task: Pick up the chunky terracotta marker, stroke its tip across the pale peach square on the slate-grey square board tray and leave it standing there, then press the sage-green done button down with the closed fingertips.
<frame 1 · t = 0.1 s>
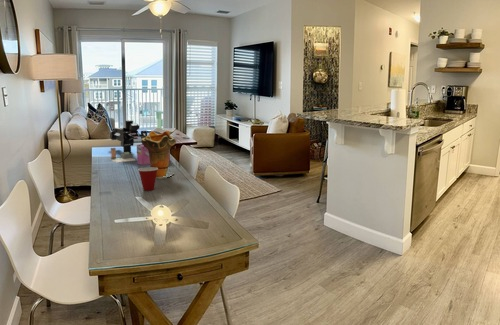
hand: (139, 136, 294), 17 cm above the table, tool horizontal, fingers open, 9 cm apart
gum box: (154, 162, 287), on the table
done button: (126, 154, 297), point 3 cm above the table, slide at 0.0 cm
plastic cup: (148, 189, 218), on the table
marker: (113, 158, 297), on the table
decorative vase: (160, 175, 249), on the table
square board tray: (123, 160, 291), on the table
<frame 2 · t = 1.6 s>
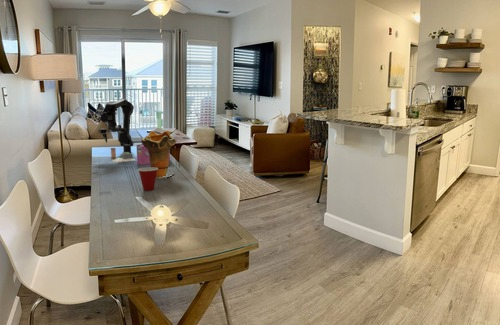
hand: (112, 142, 294), 13 cm above the table, tool pointing down, fingers open, 9 cm apart
nothing on the table moved.
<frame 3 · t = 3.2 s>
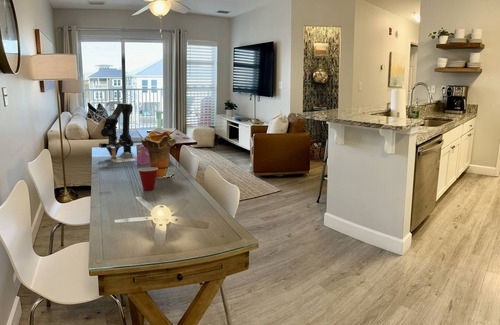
hand: (113, 155, 296), 2 cm above the table, tool pointing down, fingers closed on marker, 3 cm apart
marker: (113, 158, 297), on the table, touching gripper
everything else where it was.
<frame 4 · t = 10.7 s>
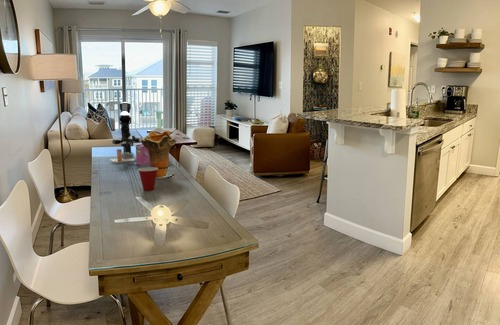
hand: (126, 152, 296), 5 cm above the table, tool pointing down, fingers closed, pressing on done button
done button: (126, 154, 297), point 3 cm above the table, slide at 0.0 cm, touching gripper
marker: (119, 160, 286), point 1 cm above the table, touching square board tray
everything else where it was.
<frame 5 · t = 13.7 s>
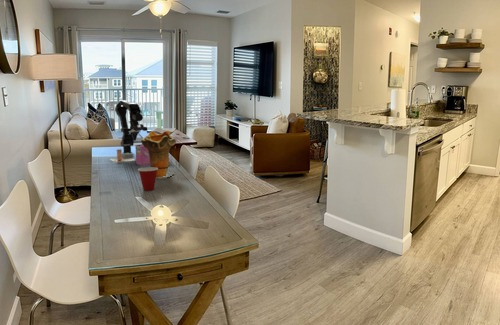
hand: (134, 140, 302), 13 cm above the table, tool pointing down, fingers closed
done button: (126, 155, 297), point 2 cm above the table, slide at -0.8 cm
at the end: marker 1.4 cm from the target spot, point 0.8 cm above the table; done button slide at -0.8 cm; the gripper is holding nothing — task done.
